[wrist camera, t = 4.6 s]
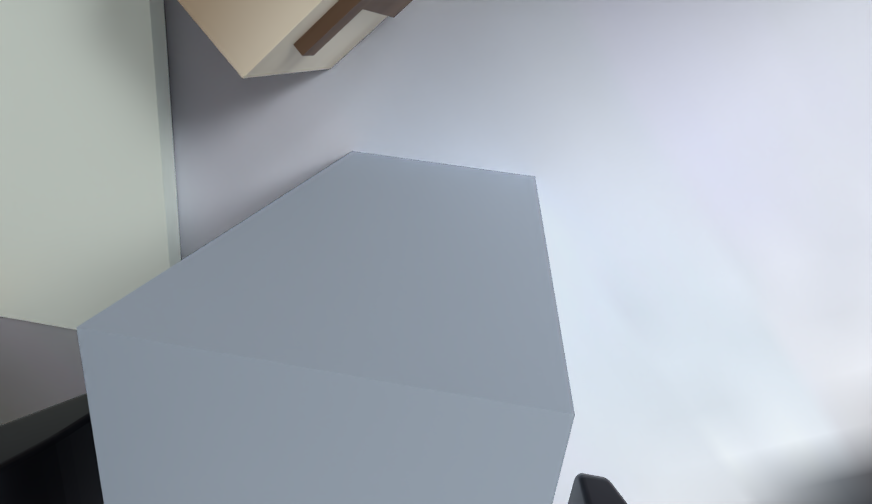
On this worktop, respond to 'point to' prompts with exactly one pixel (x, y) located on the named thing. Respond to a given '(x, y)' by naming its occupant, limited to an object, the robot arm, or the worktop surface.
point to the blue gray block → (343, 351)
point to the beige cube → (288, 31)
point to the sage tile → (83, 156)
